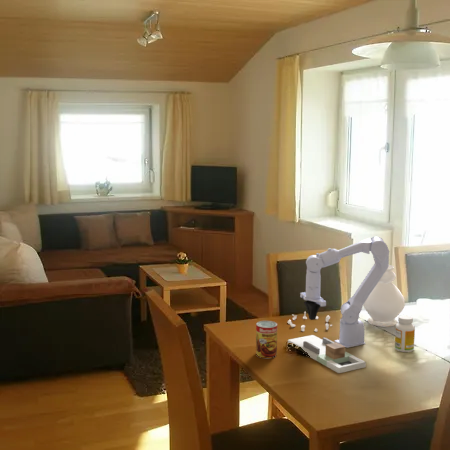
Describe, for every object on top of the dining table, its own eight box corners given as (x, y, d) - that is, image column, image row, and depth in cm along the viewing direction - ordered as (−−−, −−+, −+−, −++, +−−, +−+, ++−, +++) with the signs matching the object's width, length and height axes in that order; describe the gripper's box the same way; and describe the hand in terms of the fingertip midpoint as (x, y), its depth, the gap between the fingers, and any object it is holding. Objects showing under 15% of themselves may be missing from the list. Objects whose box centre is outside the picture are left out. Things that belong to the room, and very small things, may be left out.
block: (336, 352, 235) (336, 342, 235) (344, 357, 231) (345, 346, 230) (325, 354, 233) (325, 344, 232) (333, 359, 229) (334, 348, 228)
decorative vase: (408, 328, 268) (411, 271, 264) (366, 328, 268) (368, 271, 264) (397, 315, 285) (400, 261, 281) (358, 315, 286) (360, 261, 281)
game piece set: (325, 317, 284) (325, 309, 284) (339, 332, 265) (339, 323, 264) (282, 319, 282) (283, 310, 281) (293, 334, 262) (293, 325, 262)
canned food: (261, 359, 234) (262, 328, 232) (252, 352, 241) (252, 322, 239) (280, 356, 237) (281, 325, 235) (270, 349, 244) (271, 319, 242)
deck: (312, 339, 255) (313, 330, 254) (365, 367, 227) (365, 356, 226) (287, 344, 249) (288, 334, 248) (338, 373, 221) (339, 362, 221)
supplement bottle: (415, 347, 246) (416, 315, 244) (412, 353, 240) (413, 321, 238) (396, 344, 249) (397, 313, 247) (393, 350, 243) (394, 318, 241)
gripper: (294, 282, 253) (293, 315, 255) (315, 291, 240) (314, 326, 242) (308, 280, 256) (308, 313, 258) (330, 289, 243) (329, 323, 246)
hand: (312, 319), depth 250 cm, fingers closed
